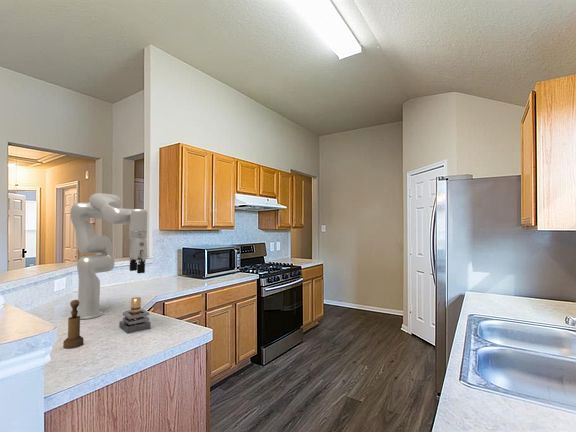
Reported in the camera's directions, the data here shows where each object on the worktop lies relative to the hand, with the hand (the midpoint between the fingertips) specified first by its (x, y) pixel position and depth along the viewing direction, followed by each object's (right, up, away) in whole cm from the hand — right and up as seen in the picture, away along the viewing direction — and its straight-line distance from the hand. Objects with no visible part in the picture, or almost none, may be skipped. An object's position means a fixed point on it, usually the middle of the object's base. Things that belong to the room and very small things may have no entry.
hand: (137, 271), depth 145 cm
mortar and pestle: (-15, -26, -22) cm, 37 cm away
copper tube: (0, -23, -1) cm, 23 cm away
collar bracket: (-1, -26, 0) cm, 26 cm away
